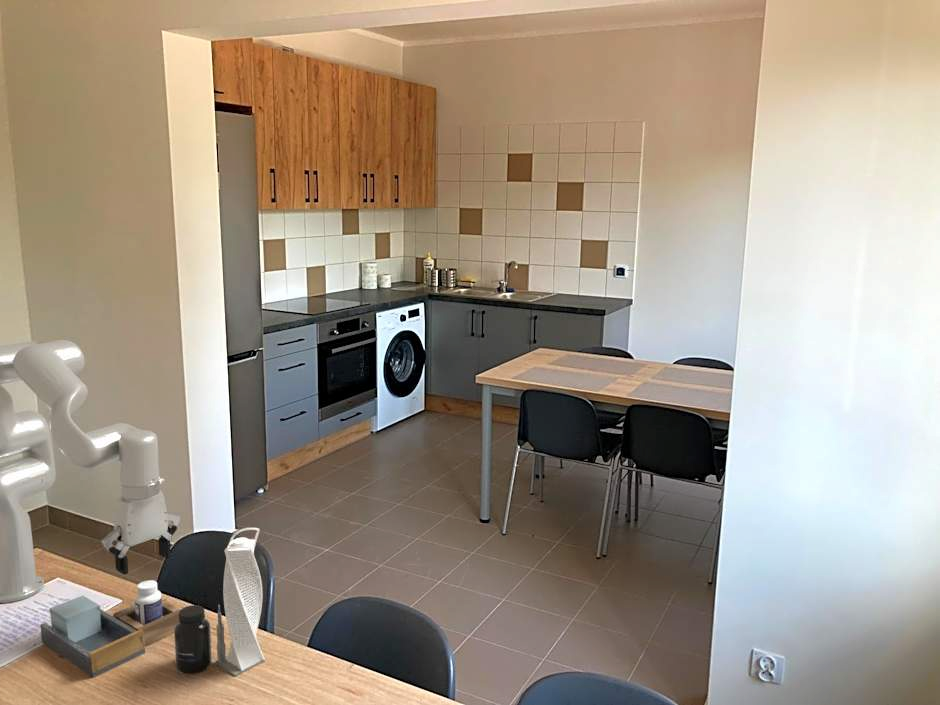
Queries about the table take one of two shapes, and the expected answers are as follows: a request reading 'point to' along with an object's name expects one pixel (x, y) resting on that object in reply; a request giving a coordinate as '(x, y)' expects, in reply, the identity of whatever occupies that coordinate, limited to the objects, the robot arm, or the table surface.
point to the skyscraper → (240, 607)
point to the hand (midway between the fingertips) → (144, 564)
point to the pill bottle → (148, 602)
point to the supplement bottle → (192, 640)
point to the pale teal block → (76, 618)
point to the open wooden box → (155, 628)
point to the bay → (98, 645)
